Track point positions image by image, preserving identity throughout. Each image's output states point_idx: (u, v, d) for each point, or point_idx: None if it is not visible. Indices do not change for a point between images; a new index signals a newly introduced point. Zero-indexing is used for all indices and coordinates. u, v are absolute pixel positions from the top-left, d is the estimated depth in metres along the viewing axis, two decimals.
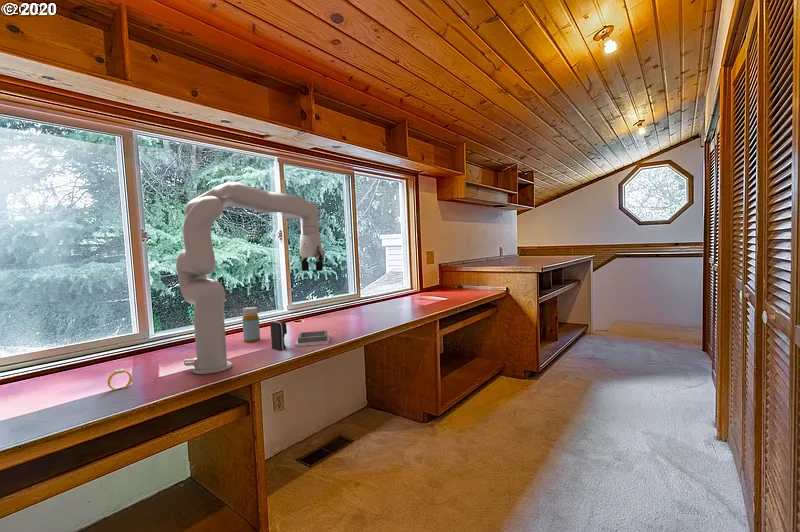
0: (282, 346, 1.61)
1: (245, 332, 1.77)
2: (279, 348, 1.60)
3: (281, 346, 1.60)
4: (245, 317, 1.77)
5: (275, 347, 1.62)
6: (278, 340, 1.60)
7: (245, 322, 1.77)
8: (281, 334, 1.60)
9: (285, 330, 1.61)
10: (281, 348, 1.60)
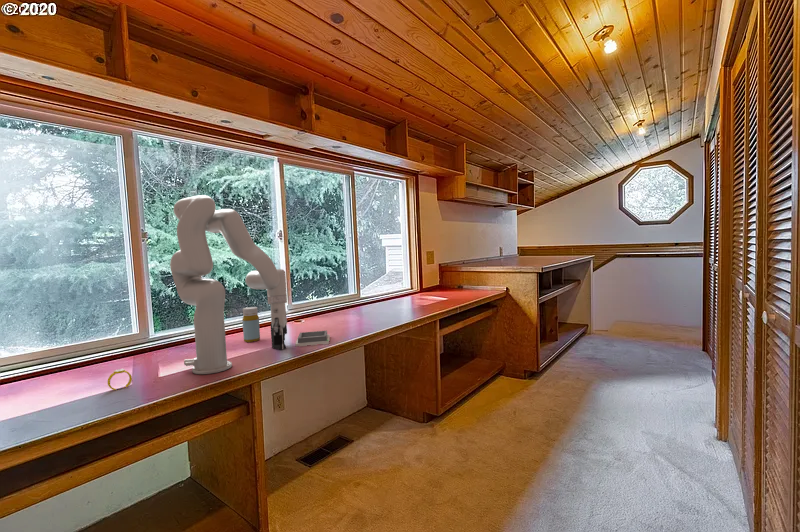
0: (282, 346, 1.61)
1: (245, 332, 1.77)
2: (279, 348, 1.61)
3: (281, 346, 1.60)
4: (245, 317, 1.77)
5: (275, 347, 1.62)
6: None
7: (245, 322, 1.77)
8: (281, 334, 1.60)
9: (285, 330, 1.62)
10: (281, 348, 1.60)
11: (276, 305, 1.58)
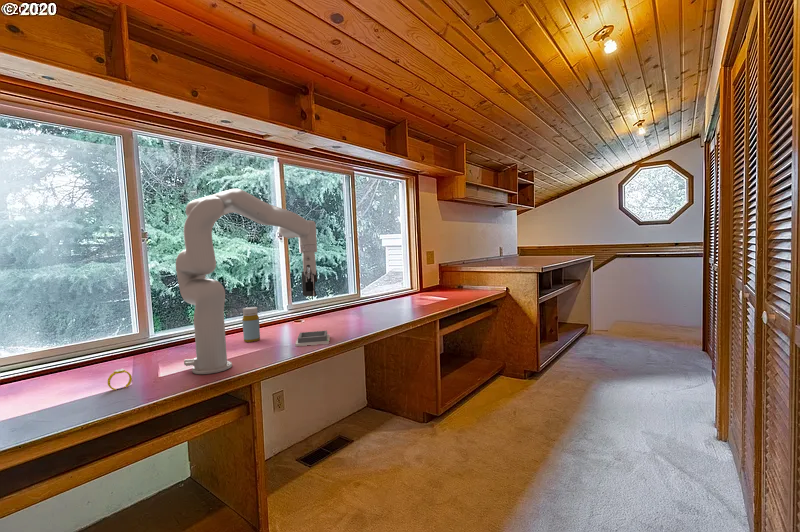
0: (313, 293, 1.70)
1: (245, 332, 1.77)
2: (310, 294, 1.70)
3: (312, 292, 1.69)
4: (245, 317, 1.77)
5: (306, 294, 1.71)
6: None
7: (245, 322, 1.77)
8: None
9: (316, 278, 1.71)
10: (312, 294, 1.69)
11: (308, 253, 1.67)
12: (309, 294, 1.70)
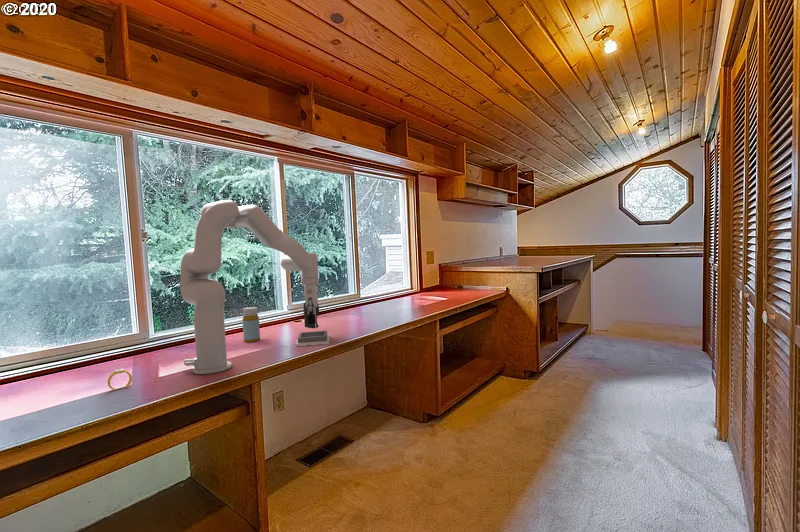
0: (315, 325, 1.71)
1: (245, 332, 1.77)
2: (312, 326, 1.70)
3: (314, 325, 1.70)
4: (245, 317, 1.77)
5: (308, 326, 1.72)
6: None
7: (245, 322, 1.77)
8: None
9: (318, 310, 1.72)
10: (314, 326, 1.70)
11: (310, 286, 1.68)
12: (311, 326, 1.71)
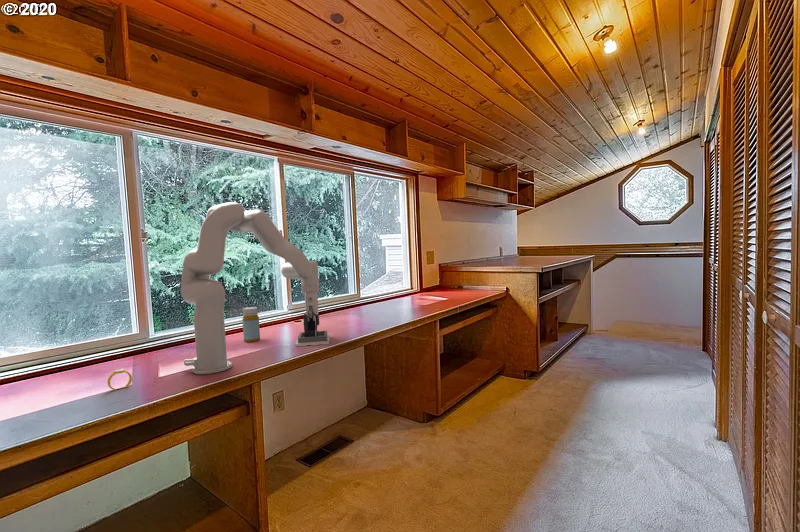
0: (316, 336, 1.71)
1: (245, 332, 1.77)
2: None
3: (314, 336, 1.70)
4: (245, 317, 1.77)
5: None
6: (312, 331, 1.70)
7: (245, 322, 1.77)
8: None
9: (318, 321, 1.72)
10: None
11: (310, 294, 1.68)
12: None
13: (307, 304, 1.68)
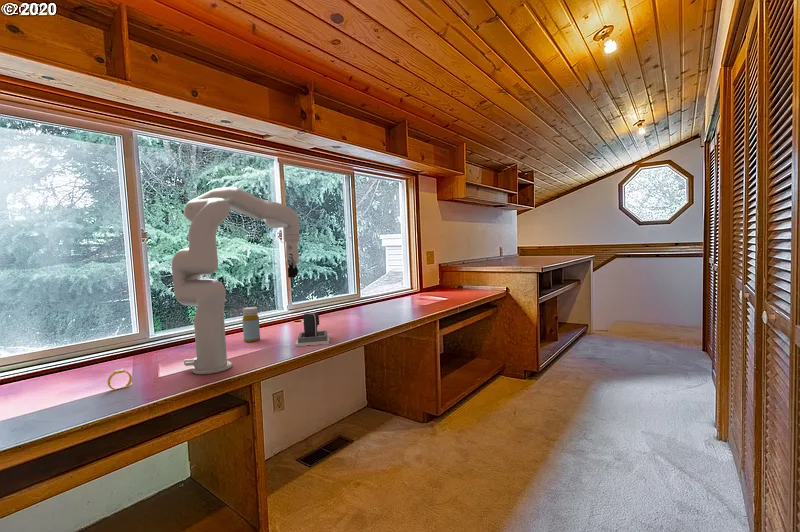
0: (316, 336, 1.71)
1: (245, 332, 1.77)
2: None
3: (314, 336, 1.70)
4: (245, 317, 1.77)
5: None
6: (312, 331, 1.70)
7: (245, 322, 1.77)
8: (315, 325, 1.70)
9: (318, 321, 1.72)
10: None
11: (290, 243, 1.75)
12: None
13: (287, 252, 1.75)
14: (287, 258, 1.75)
